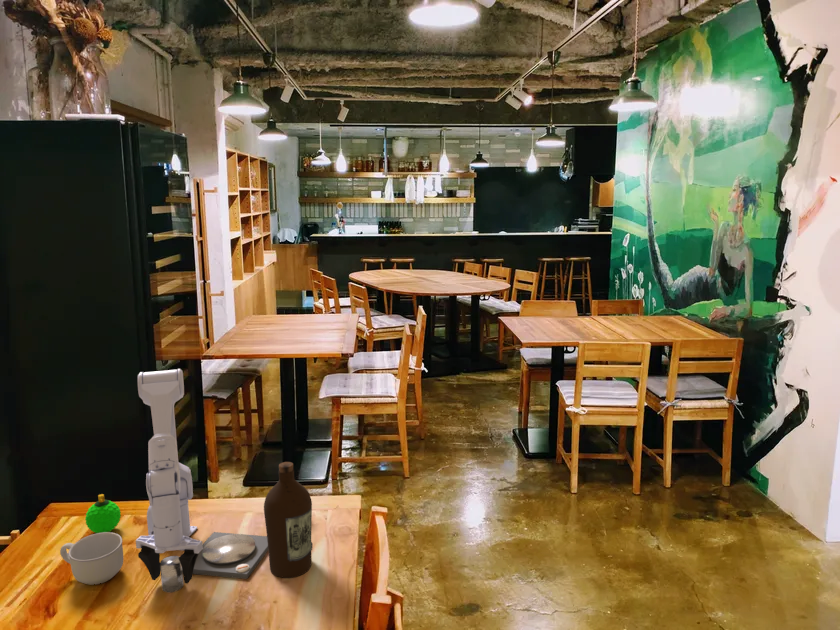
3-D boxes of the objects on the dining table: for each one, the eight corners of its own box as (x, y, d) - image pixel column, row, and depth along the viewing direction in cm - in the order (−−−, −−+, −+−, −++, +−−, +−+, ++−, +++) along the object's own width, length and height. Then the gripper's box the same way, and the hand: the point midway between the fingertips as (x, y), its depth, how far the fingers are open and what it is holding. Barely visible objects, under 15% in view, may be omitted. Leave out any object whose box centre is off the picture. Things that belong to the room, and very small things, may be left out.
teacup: (136, 568, 147) (132, 536, 146) (98, 595, 137) (94, 561, 136) (89, 557, 152) (85, 526, 150) (49, 583, 142) (45, 550, 140)
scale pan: (192, 561, 146) (192, 559, 146) (217, 534, 158) (217, 532, 158) (242, 566, 144) (241, 563, 144) (263, 538, 156) (263, 536, 156)
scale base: (180, 572, 145) (180, 566, 145) (214, 536, 161) (213, 530, 160) (247, 578, 142) (246, 572, 142) (274, 541, 158) (274, 535, 158)
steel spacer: (158, 591, 138) (155, 566, 137) (169, 579, 143) (166, 555, 142) (176, 593, 138) (174, 567, 137) (187, 581, 142) (185, 556, 141)
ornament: (108, 521, 169) (104, 485, 167) (129, 528, 165) (125, 491, 163) (79, 535, 162) (75, 498, 160) (101, 543, 158) (97, 505, 156)
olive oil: (257, 567, 147) (251, 465, 142) (294, 548, 154) (290, 451, 150) (286, 586, 140) (281, 479, 135) (323, 564, 148) (319, 463, 143)
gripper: (125, 528, 135) (130, 586, 137) (188, 533, 132) (193, 593, 135) (144, 512, 142) (149, 568, 144) (205, 517, 139) (209, 573, 142)
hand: (172, 579), depth 140 cm, fingers open, 7 cm apart
